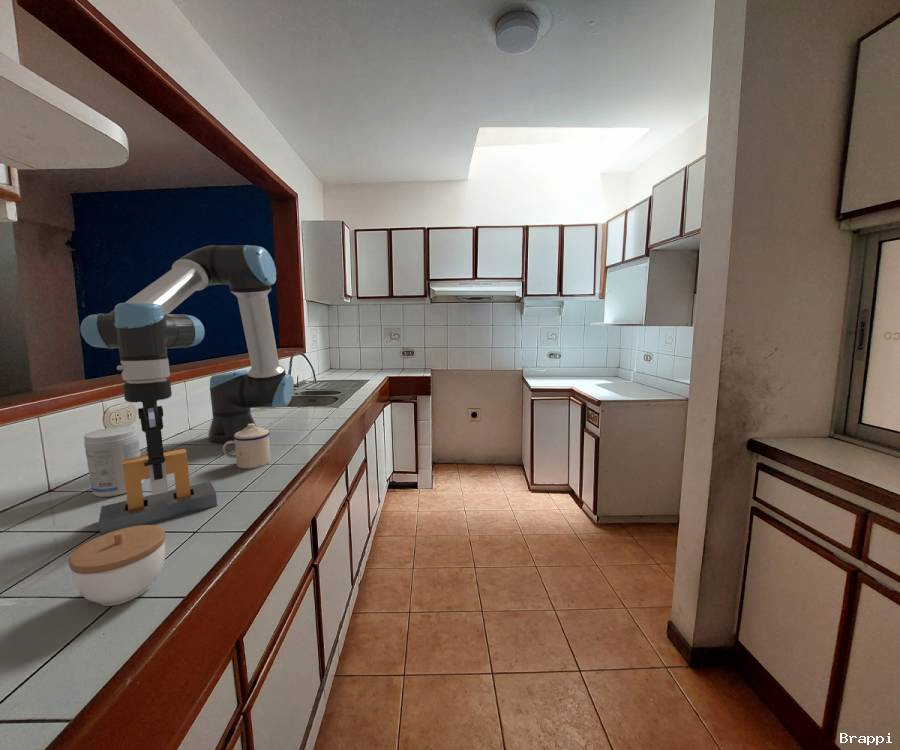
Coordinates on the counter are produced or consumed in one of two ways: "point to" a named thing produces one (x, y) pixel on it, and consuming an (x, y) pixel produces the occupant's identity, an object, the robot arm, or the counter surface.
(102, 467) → the supplement tub
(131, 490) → the orange clip
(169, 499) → the graphite rail
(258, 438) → the teacup with lid
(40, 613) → the counter surface
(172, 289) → the robot arm
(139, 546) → the lidded jar
